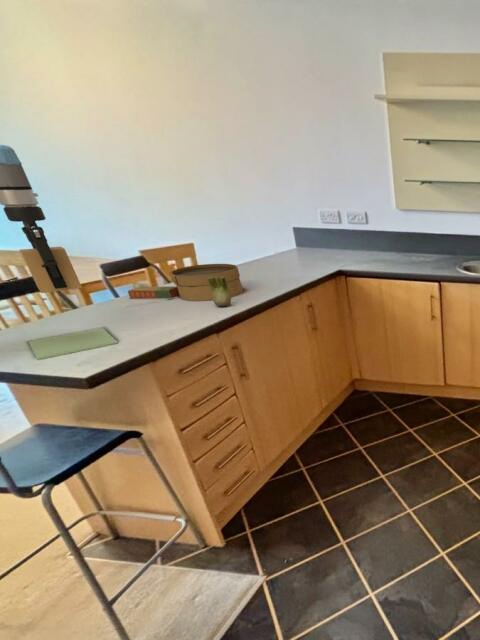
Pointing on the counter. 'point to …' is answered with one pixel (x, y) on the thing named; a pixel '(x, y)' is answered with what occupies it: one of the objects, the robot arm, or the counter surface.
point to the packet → (41, 274)
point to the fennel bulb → (220, 292)
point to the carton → (153, 292)
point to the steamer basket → (205, 280)
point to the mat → (71, 343)
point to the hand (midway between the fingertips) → (59, 285)
